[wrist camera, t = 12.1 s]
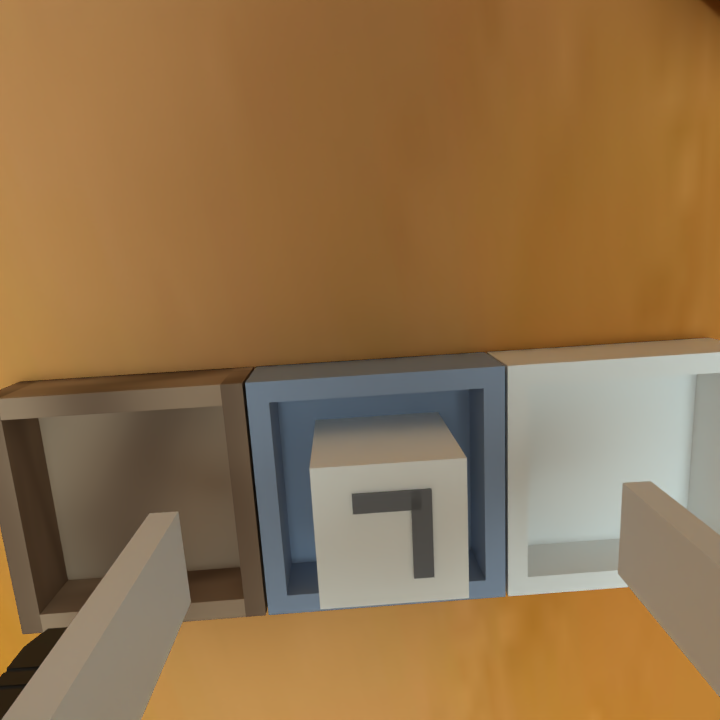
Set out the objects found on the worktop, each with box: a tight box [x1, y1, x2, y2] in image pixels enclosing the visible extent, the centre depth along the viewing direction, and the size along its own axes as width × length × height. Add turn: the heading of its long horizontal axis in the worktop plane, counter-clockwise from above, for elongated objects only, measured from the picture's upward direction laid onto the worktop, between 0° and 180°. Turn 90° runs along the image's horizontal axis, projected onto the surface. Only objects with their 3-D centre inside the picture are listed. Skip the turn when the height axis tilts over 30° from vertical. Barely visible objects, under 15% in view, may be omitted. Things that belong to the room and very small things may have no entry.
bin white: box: [487, 338, 720, 596], centre depth 20 cm, size 8×8×2 cm
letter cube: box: [309, 412, 469, 609], centre depth 18 cm, size 4×5×5 cm
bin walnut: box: [0, 367, 268, 634], centre depth 19 cm, size 8×8×2 cm
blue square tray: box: [245, 352, 505, 615], centre depth 19 cm, size 8×8×2 cm
